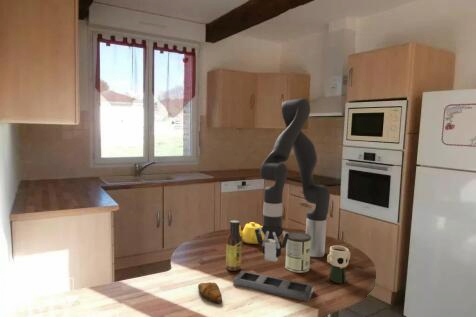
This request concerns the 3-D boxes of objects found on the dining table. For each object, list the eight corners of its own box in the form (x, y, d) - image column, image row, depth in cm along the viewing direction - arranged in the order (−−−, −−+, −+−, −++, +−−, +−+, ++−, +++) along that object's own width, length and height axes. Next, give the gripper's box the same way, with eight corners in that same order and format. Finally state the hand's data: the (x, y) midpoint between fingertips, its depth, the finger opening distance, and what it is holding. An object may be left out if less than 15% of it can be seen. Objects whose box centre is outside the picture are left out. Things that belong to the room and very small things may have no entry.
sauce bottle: (239, 272, 135) (240, 224, 134) (224, 270, 137) (225, 222, 135) (242, 266, 142) (243, 220, 140) (227, 264, 143) (229, 218, 141)
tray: (241, 276, 131) (241, 270, 131) (313, 291, 121) (313, 285, 121) (233, 285, 124) (233, 278, 124) (309, 301, 113) (309, 294, 113)
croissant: (229, 301, 112) (229, 287, 112) (212, 307, 108) (212, 292, 107) (207, 286, 123) (208, 273, 122) (191, 291, 119) (191, 277, 118)
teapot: (234, 241, 174) (234, 222, 173) (250, 235, 184) (250, 217, 184) (255, 247, 165) (255, 228, 164) (270, 241, 176) (271, 222, 175)
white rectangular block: (267, 255, 135) (268, 238, 134) (278, 257, 133) (279, 240, 132) (264, 259, 130) (264, 242, 130) (275, 261, 129) (276, 244, 128)
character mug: (332, 286, 125) (334, 253, 124) (320, 279, 132) (322, 246, 131) (354, 282, 130) (356, 250, 129) (342, 275, 136) (344, 244, 135)
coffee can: (287, 261, 149) (288, 230, 148) (310, 265, 145) (312, 233, 144) (282, 270, 139) (284, 237, 138) (307, 274, 136) (309, 240, 135)
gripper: (293, 213, 131) (291, 255, 132) (258, 209, 136) (257, 250, 138) (288, 217, 124) (287, 262, 126) (252, 213, 129) (251, 256, 131)
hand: (271, 255), depth 132 cm, fingers closed on white rectangular block, 4 cm apart
